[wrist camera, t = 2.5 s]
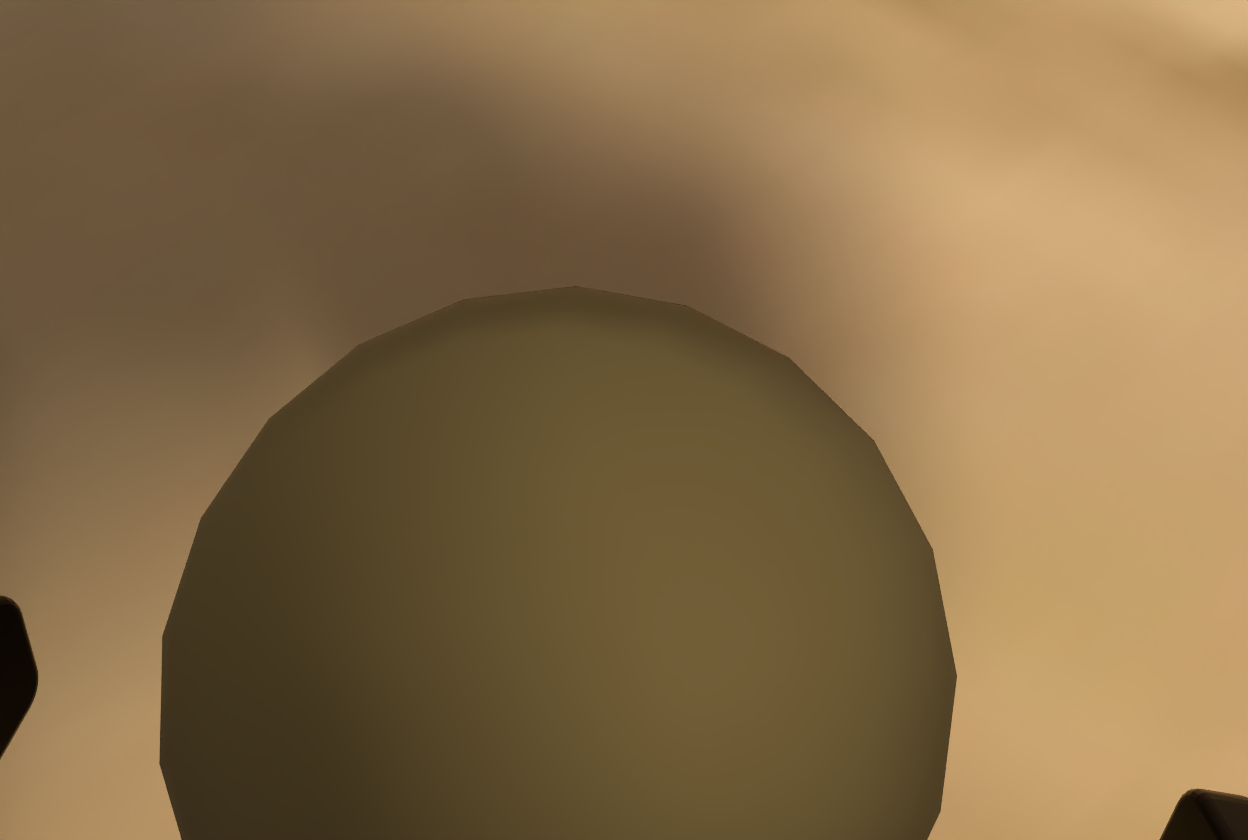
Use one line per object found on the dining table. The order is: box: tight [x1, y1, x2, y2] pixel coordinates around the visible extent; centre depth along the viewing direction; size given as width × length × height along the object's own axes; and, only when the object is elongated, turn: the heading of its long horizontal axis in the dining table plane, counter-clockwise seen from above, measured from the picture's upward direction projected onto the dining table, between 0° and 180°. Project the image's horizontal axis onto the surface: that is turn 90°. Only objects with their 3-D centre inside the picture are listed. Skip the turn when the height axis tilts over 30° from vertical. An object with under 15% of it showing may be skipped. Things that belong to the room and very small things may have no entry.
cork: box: [160, 286, 957, 840], centre depth 11 cm, size 6×6×11 cm
